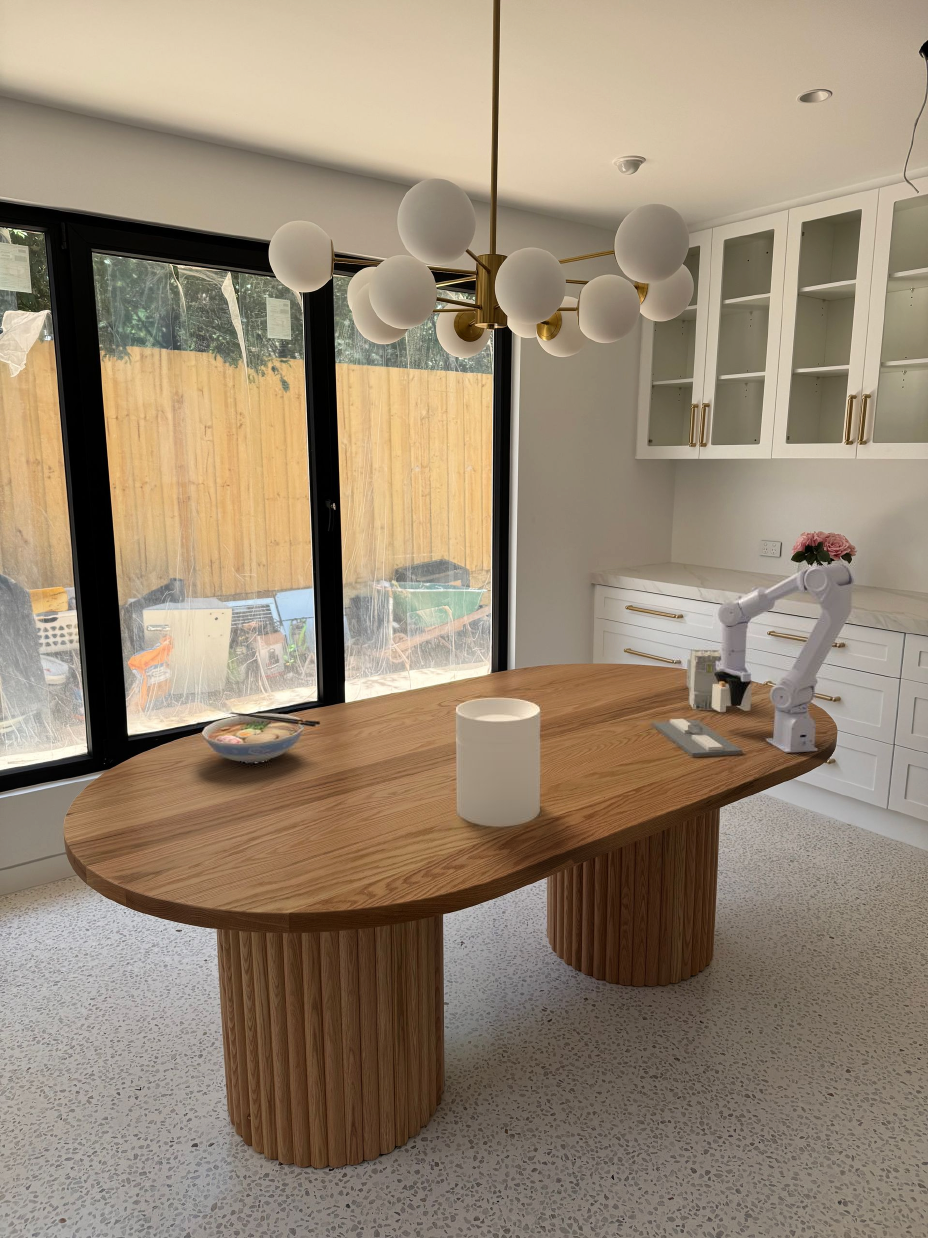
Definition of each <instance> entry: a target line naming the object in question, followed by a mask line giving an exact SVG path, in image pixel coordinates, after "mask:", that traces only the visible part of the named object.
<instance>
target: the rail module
mask: <svg viewBox="0 0 928 1238" xmlns="http://www.w3.org/2000/svg"><path fill="white" fill-rule="evenodd" d="M751 701H752V686H751V685H749V686H748V687H747V689H746V691H745V694H744V696H743V699H742V703H741V706H736V707H737V708H739V709H740V710H743V711H744V712H745V711H746V712H748V711H751V706H752V705H751V704H752V703H751ZM731 706H732V705H731V697H730V689H729V685H728V683H725V682H723V681H720V682H719V684H713V689H712V708H714V709H716V710H715V711H717V712H719V713H726V712H727V711H726V710H727V707H731ZM732 707H733V706H732Z"/></svg>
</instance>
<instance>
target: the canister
mask: <svg viewBox="0 0 928 1238" xmlns="http://www.w3.org/2000/svg"><path fill="white" fill-rule="evenodd" d="M455 708H456V709H455V733H456V736H455V738H456V739H455V741H456V743H455V745H456V747H455V748H456V759H455V760H456V813H457V814H458V815H459V817H460V818H462V819H464V820H465V821H467V822H469V823H471V824H474V825H475V824H476V825H479V826H485V827H486V826H487V827H491V828H492V827H493V828H494V827H495V828H496V827H497V828H498V827H500V828H501V827H502V828H503V827H512V826H520V825H523V824H525V823H528V822H531V821H533V820H534V819H535V818H537V817H538V815H539V813H540V811H541V810H540V809H541V806H540V805H541V804H540V803H541V801H540V800H541V799H540V798H541V793H540V792H541V790H540V789H541V737H540V736H541V734H540V733H541V709H540V706H539V705H537V704H536V703H534V702H532V701H531V702H530V701H528V700H522V699H518V698H509V697H488V698H487V697H486V698H478V699H472V700H467V701H465V702H463V703H460V704H458V705H457V706H456V707H455Z"/></svg>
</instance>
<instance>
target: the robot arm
mask: <svg viewBox="0 0 928 1238" xmlns="http://www.w3.org/2000/svg"><path fill="white" fill-rule="evenodd" d="M854 584H855V579H854V577H853V575H852V572H851V570H850V569H849V567H848V566H847V565H846V564H843V563H840V562H834V563H833V562H832V563H830V564H823V565H814V566H811V567H810V568H807V569H802V570H800V571H799V572H797V573H795V574H793V575H791V576H790V577H787V578H786V579H784V580H782V581H780V582H779V583H777V584H775V585H773V586H771V587H769V588H766V587H763V586H762V587H761V586H760V587H758V586H756V587H755V586H754V587H753V588H751V589H750V592H748V593H746V594H745V595H742V596H741V595H739V596H736V597H735V600H734V601H726V602H724V603H722V605H721V606H720V607H719V608H718V612H717V615H718V619H719V620H718V621H720V623H721V624H722V626H721V627H722V630H721V651H720V652H721V661H716V670H718V671H719V672H715V673H714V675H715V677H716V679H717V681H718V684H719V682H720V681H723V682H725V683H728V685H729V689H730V697H731V705H732V707H737V706H741V703H742V699H743V696H744V694H745V691H746V689H747V687H748V686H750V685H751V683H752V679H751V678H752V677H751V676H752V673H750V672H749V671H748V669H747V668H746V653H747V652H746V651H747V631H748V630H747V629H748V627H749V626H748V625H749V624H750V623H749V622H751V620H752V619H753V618H756V617H757V616H760V615H762V614H764V613H767V612H768V611H770V610H772V609H773V608H774V607H775V604H776V603H775V602H776V601H778V600H781V599H782V598H783V599H784V598H785V597H788V596H790V595H792V594H794V593H797V592H799V591H804V592H805V591H808V592H809V593H810V595H812V597H813V598H814V599H815V601H816V602H817V603H818V605H819V606H820V609H821V613H820V615H819V617H818V619H817V620H816V622H815V624H814V625H813V628H812V630H811V632H810V634H809V635H808V638H807V639H806V641H805V643H804V645H803V647H802V648H801V650H800V652H799V654H798V656H797V658H796V660H795V662H794V664H793V666H792V667H791V668H790V669H789V670H788V671H787V672H786V673H785V674H784V675H783V676H781V679H780V681H779V682H778V683H776V684H775V685H773V686H772V687H771V689H770V693H769V698H770V702H771V703H772V705H773V706H774V721H773V722H774V724H773V737H767V738H765V741H766V742H768V743H769V744H770V745H773V746H774V747H776V748H777V749H779V750H781V751H782V752H784V753H787V754H789V753H804V752H817V751H818V748H817V747H815V739H816V722H815V720H814V718H812V717H811V715H810V714H809V706H810V705H809V704H810V703H811V702H812V701H813V700H814V697H815V694H816V686H817V684H818V682H819V681H818V679H817V677H816V676H817V674H818V673H819V670H820V669H821V667H822V666H823V663H824V662H825V660H826V658H827V657H828V655H829V653H830V650H832V647H833V645H834V644H835V642H836V640H837V638H838V636H839V635H840V632H841V631H842V629H843V628H844V626H845V624H846V622H847V620H848V618H849V617H850V615H851V613H852V604H853V603H852V600H853V599H852V592H853V591H852V590H853V587H854Z"/></svg>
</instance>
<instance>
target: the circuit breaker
mask: <svg viewBox="0 0 928 1238" xmlns="http://www.w3.org/2000/svg"><path fill="white" fill-rule="evenodd" d="M716 661H721V651H720V650H719V649H690V658H687V664H686V665H687V666H686V686H687V687H688V692H689V694H688V703H689V705H690V706H691V707H692V709H693V710H694V711H717V710H716V709H714V708H712V689H713V684H718V681H717V679H716V677H715V675H714V673H715V672H719V671H718V670H716Z"/></svg>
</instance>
